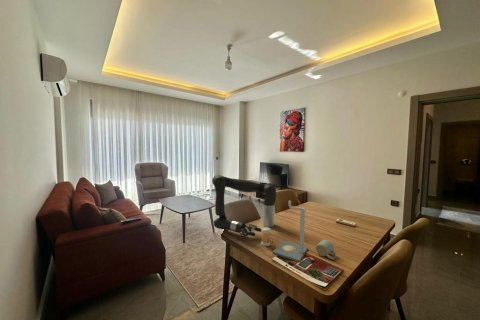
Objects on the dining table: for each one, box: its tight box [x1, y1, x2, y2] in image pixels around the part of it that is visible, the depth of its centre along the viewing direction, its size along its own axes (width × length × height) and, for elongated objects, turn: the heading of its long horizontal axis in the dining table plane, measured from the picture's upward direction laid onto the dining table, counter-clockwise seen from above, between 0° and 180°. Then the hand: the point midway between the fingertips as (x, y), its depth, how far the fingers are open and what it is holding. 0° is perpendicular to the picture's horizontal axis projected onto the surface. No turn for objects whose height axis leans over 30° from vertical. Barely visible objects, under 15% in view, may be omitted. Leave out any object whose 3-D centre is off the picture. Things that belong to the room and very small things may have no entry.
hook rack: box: [272, 200, 309, 263], centre depth 122 cm, size 18×16×31 cm
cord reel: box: [260, 226, 271, 247], centre depth 132 cm, size 6×6×10 cm
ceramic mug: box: [315, 239, 337, 260], centre depth 118 cm, size 11×8×8 cm
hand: (258, 232), depth 135 cm, fingers open, 8 cm apart
